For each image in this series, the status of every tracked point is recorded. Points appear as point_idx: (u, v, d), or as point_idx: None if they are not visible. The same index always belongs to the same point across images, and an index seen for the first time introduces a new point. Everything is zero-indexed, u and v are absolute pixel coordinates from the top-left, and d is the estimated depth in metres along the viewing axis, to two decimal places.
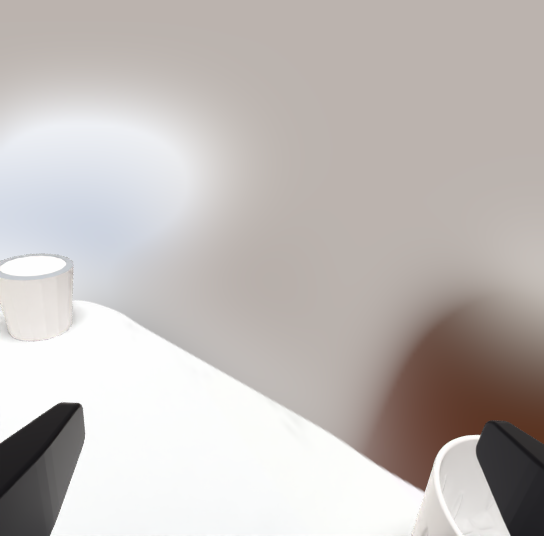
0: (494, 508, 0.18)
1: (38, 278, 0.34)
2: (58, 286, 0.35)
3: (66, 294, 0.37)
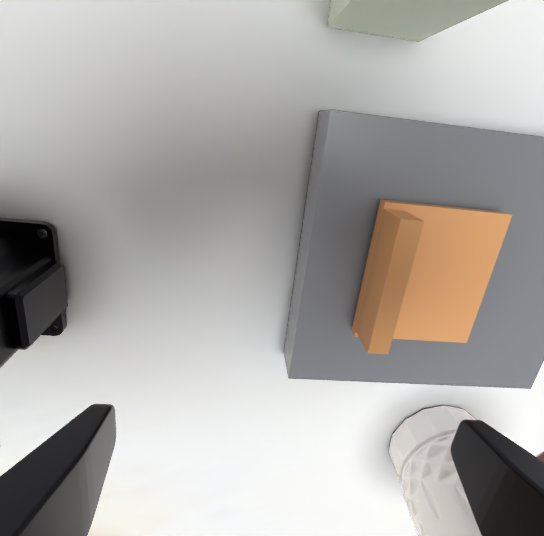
0: None
1: None
2: None
3: None
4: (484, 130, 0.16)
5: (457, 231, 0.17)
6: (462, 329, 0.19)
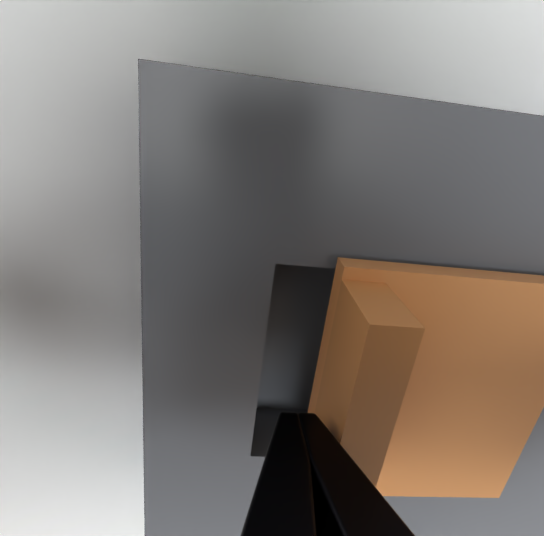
0: None
1: None
2: None
3: None
4: (483, 110, 0.08)
5: (490, 320, 0.09)
6: (492, 478, 0.11)
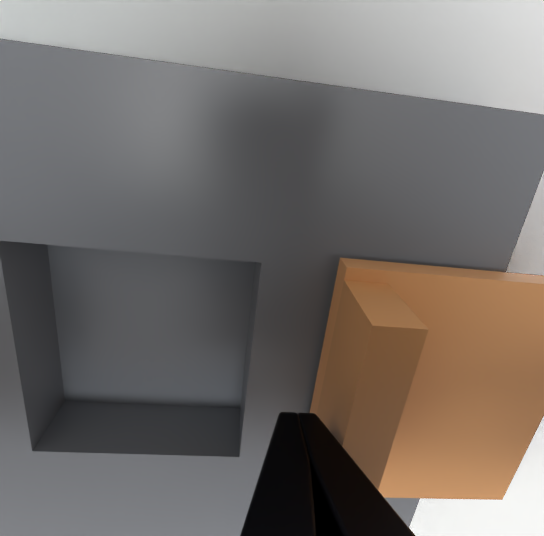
0: None
1: None
2: None
3: None
4: (187, 67, 0.07)
5: (493, 321, 0.09)
6: (495, 480, 0.11)
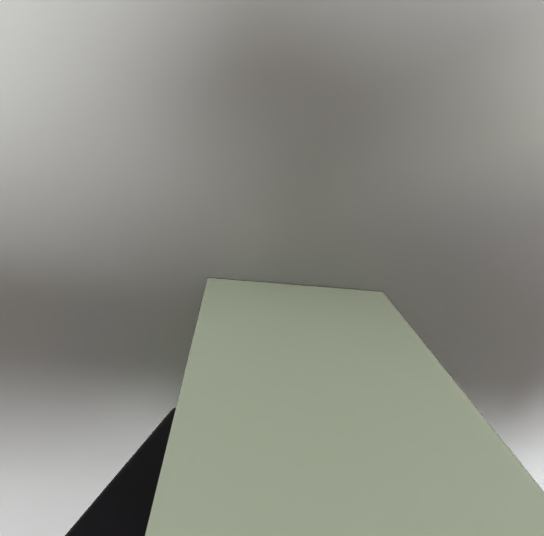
0: None
1: None
2: None
3: None
4: None
5: None
6: None
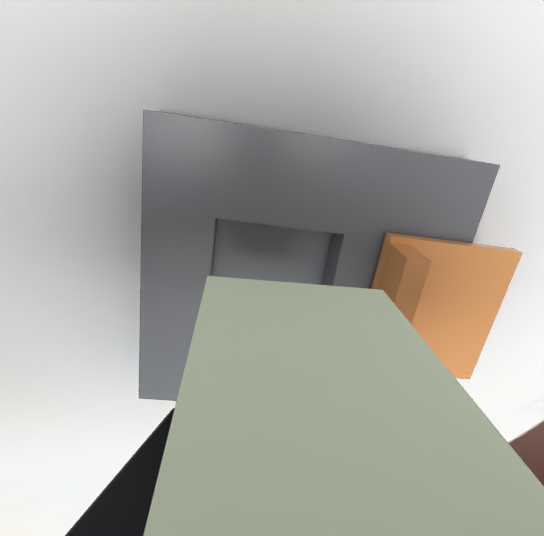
0: None
1: None
2: None
3: None
4: (321, 138, 0.15)
5: (464, 268, 0.16)
6: (465, 365, 0.19)
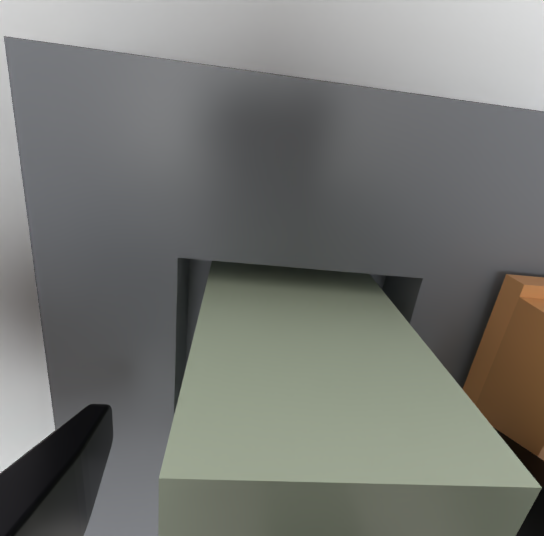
0: None
1: None
2: None
3: None
4: (387, 92, 0.07)
5: None
6: None
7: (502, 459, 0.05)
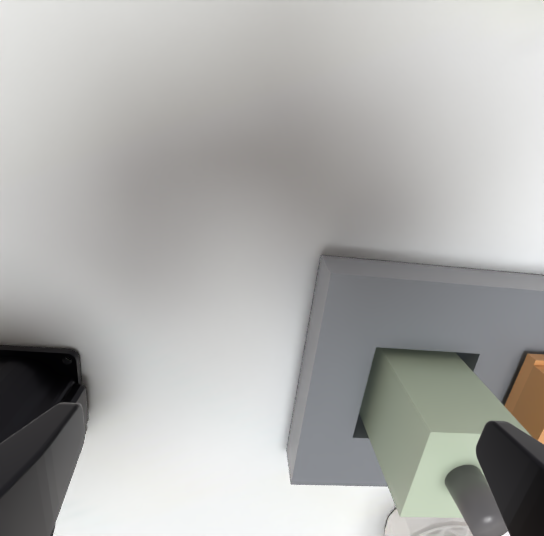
0: None
1: None
2: None
3: None
4: (471, 286, 0.18)
5: None
6: None
7: (519, 428, 0.15)
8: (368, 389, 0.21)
